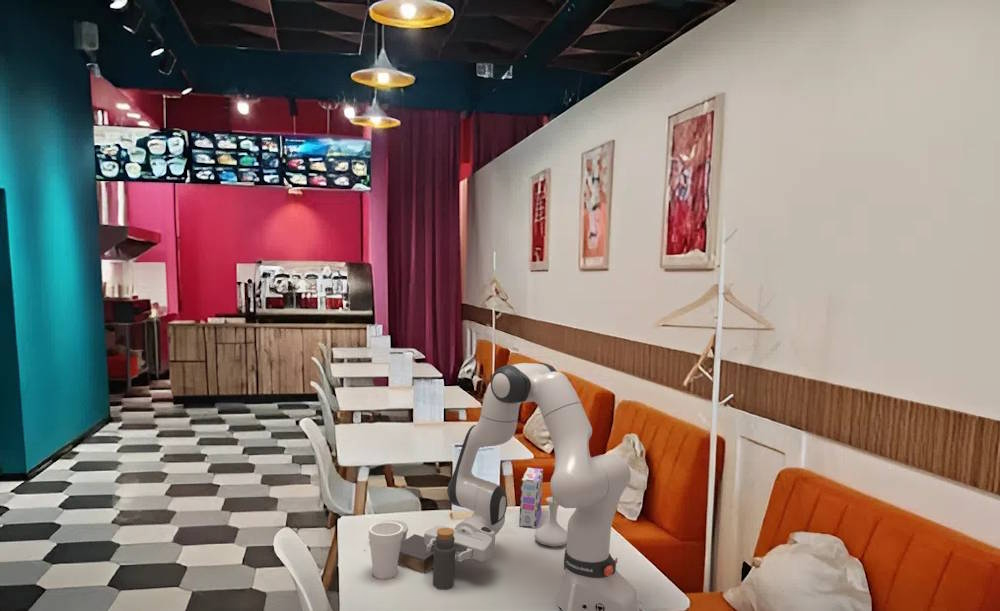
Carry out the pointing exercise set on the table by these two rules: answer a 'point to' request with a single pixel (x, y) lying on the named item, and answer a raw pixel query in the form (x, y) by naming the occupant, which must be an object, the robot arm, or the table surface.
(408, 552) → the podium
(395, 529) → the foam cup
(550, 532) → the grey vase
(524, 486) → the candy box
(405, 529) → the ramekin
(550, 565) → the table surface
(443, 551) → the bottle
